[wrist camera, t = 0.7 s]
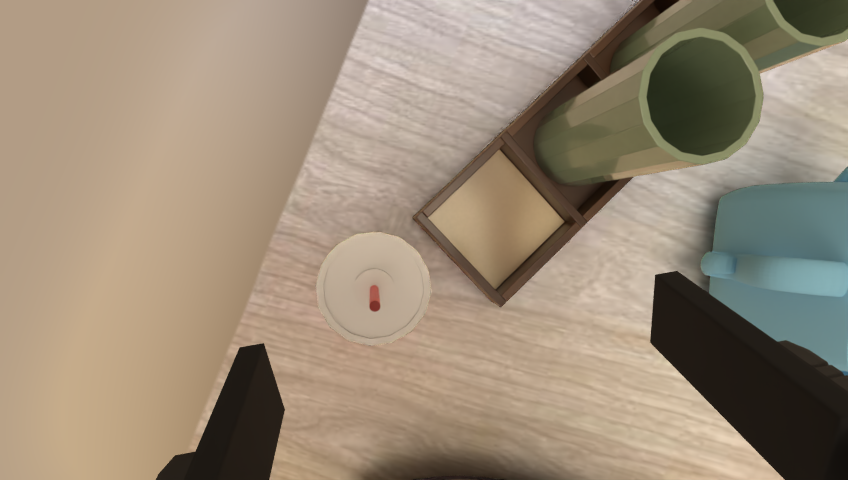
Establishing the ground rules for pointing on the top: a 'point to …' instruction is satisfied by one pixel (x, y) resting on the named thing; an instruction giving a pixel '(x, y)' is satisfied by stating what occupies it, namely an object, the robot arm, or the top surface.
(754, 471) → the top surface
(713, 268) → the teapot
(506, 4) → the top surface
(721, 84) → the cup
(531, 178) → the cup rack
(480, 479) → the dish
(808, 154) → the top surface
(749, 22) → the cup
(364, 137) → the top surface
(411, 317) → the beverage cup
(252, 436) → the robot arm
